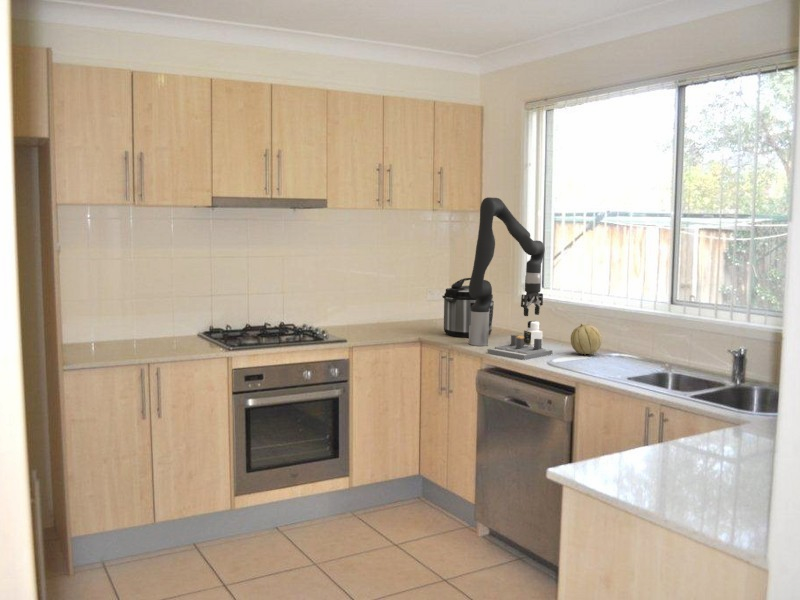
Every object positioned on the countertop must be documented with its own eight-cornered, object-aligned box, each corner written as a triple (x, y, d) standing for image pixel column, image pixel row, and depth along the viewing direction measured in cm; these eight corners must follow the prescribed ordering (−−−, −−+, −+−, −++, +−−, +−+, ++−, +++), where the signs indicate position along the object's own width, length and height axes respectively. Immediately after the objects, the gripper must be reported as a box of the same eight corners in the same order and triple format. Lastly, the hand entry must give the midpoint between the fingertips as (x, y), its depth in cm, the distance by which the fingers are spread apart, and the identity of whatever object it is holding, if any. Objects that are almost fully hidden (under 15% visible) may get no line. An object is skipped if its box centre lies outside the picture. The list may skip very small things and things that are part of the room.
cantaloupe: (607, 356, 361) (609, 324, 359) (584, 358, 354) (586, 326, 352) (586, 351, 374) (587, 321, 372) (563, 353, 367) (564, 322, 365)
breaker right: (533, 350, 360) (533, 338, 360) (536, 349, 363) (537, 338, 362) (538, 351, 358) (538, 339, 358) (542, 350, 360) (542, 339, 360)
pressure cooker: (446, 338, 405) (447, 279, 401) (436, 331, 433) (437, 275, 429) (500, 338, 409) (502, 280, 406) (487, 330, 437) (489, 276, 433)
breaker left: (510, 346, 371) (510, 335, 370) (513, 345, 373) (514, 334, 372) (514, 347, 368) (515, 336, 368) (518, 346, 370) (519, 335, 370)
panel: (487, 353, 363) (487, 347, 363) (515, 348, 378) (516, 342, 378) (524, 359, 347) (524, 353, 347) (552, 354, 362) (552, 348, 362)
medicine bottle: (523, 343, 395) (524, 320, 393) (535, 342, 397) (536, 320, 396) (530, 345, 388) (531, 322, 387) (542, 344, 390) (543, 321, 389)
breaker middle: (515, 349, 362) (515, 336, 362) (519, 348, 364) (519, 336, 364) (520, 350, 360) (520, 337, 360) (524, 349, 362) (524, 336, 362)
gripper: (535, 280, 371) (534, 313, 373) (517, 282, 362) (516, 315, 364) (548, 282, 366) (546, 315, 368) (530, 283, 356) (528, 317, 358)
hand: (531, 315), depth 366 cm, fingers open, 8 cm apart
